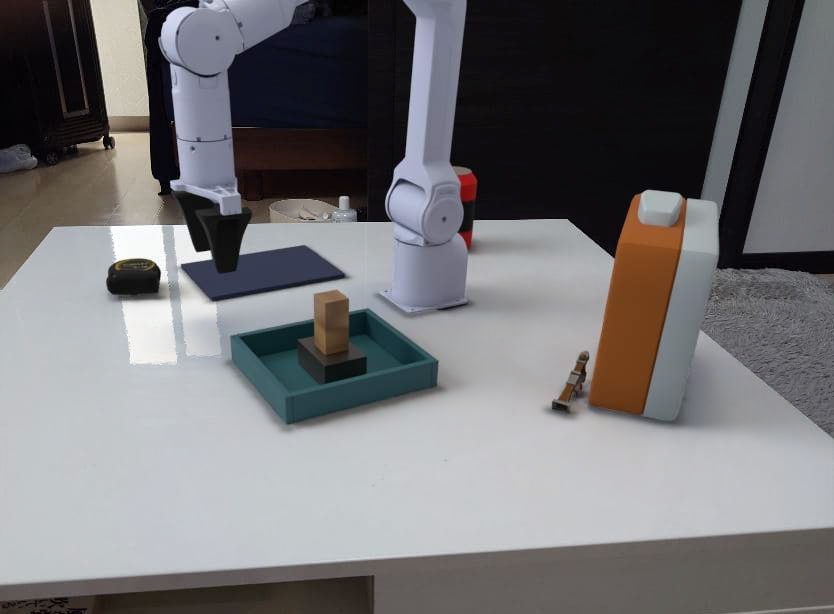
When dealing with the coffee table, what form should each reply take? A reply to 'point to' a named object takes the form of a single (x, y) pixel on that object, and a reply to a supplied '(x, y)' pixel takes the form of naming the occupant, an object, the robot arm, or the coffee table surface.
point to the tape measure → (133, 277)
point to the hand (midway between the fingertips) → (215, 260)
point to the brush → (331, 342)
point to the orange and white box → (655, 304)
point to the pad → (262, 272)
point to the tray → (304, 398)
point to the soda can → (467, 202)
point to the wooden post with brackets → (573, 383)
